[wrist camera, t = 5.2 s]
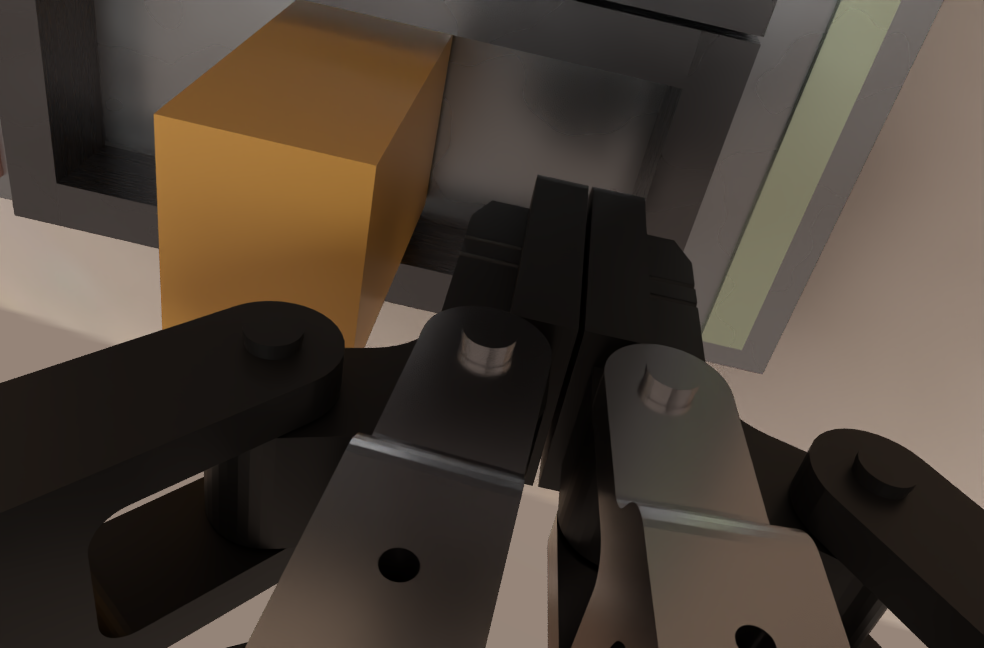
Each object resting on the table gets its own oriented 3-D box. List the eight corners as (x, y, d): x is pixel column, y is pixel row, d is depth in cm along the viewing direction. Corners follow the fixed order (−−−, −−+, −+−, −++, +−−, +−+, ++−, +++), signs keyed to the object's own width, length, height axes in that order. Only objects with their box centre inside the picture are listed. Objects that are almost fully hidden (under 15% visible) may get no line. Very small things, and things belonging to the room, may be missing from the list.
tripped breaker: (290, 172, 15) (162, 339, 11) (300, -3, 13) (153, 113, 9) (425, 203, 15) (349, 382, 11) (453, 32, 13) (376, 166, 9)
